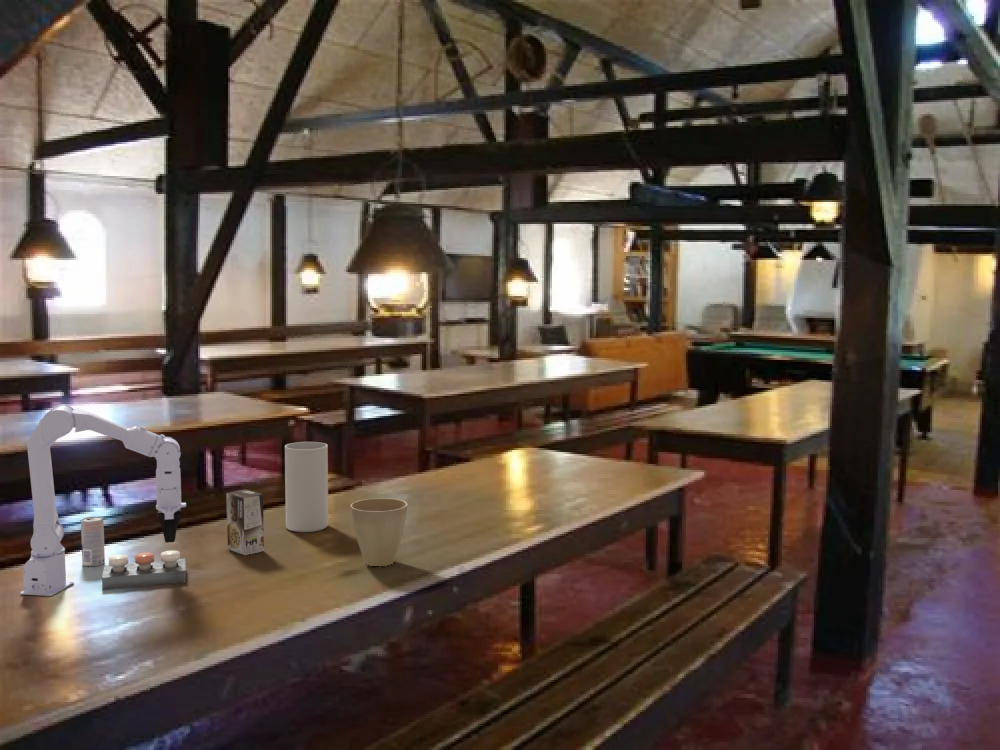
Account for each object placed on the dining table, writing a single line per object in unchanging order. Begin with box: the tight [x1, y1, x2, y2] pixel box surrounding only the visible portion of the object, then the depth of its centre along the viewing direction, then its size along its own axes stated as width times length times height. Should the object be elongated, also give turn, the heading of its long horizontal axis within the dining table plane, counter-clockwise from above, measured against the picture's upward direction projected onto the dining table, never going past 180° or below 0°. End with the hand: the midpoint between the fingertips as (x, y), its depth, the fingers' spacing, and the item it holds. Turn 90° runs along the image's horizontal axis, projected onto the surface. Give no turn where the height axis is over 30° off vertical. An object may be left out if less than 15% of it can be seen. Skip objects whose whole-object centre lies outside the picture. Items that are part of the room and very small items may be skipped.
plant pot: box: [350, 497, 408, 568], centre depth 243 cm, size 15×15×16 cm
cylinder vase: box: [284, 441, 329, 533], centre depth 276 cm, size 12×12×25 cm
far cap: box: [160, 550, 181, 568], centre depth 230 cm, size 4×4×4 cm
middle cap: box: [134, 552, 155, 570], centre depth 228 cm, size 4×4×4 cm
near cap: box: [108, 554, 129, 573], centre depth 226 cm, size 4×4×4 cm
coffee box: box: [225, 488, 265, 556], centre depth 252 cm, size 9×6×16 cm
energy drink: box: [80, 516, 106, 568], centre depth 239 cm, size 5×5×12 cm
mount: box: [101, 558, 187, 591], centre depth 228 cm, size 19×10×3 cm, turn 110°
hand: (170, 540), depth 229 cm, fingers closed
